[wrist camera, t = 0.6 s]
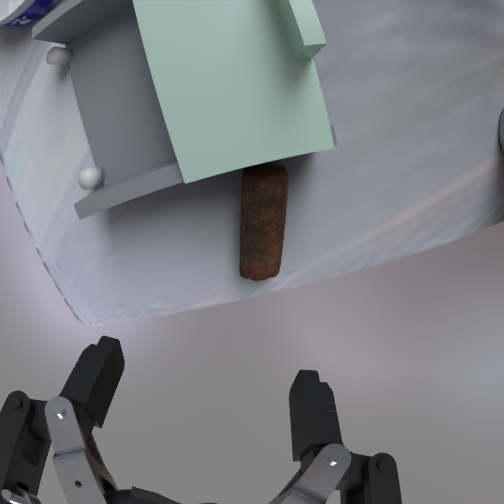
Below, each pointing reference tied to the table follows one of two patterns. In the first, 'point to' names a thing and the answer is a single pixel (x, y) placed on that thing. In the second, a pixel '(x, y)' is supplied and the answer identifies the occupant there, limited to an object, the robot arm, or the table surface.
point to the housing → (113, 100)
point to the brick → (262, 220)
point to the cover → (236, 80)
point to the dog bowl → (23, 11)
